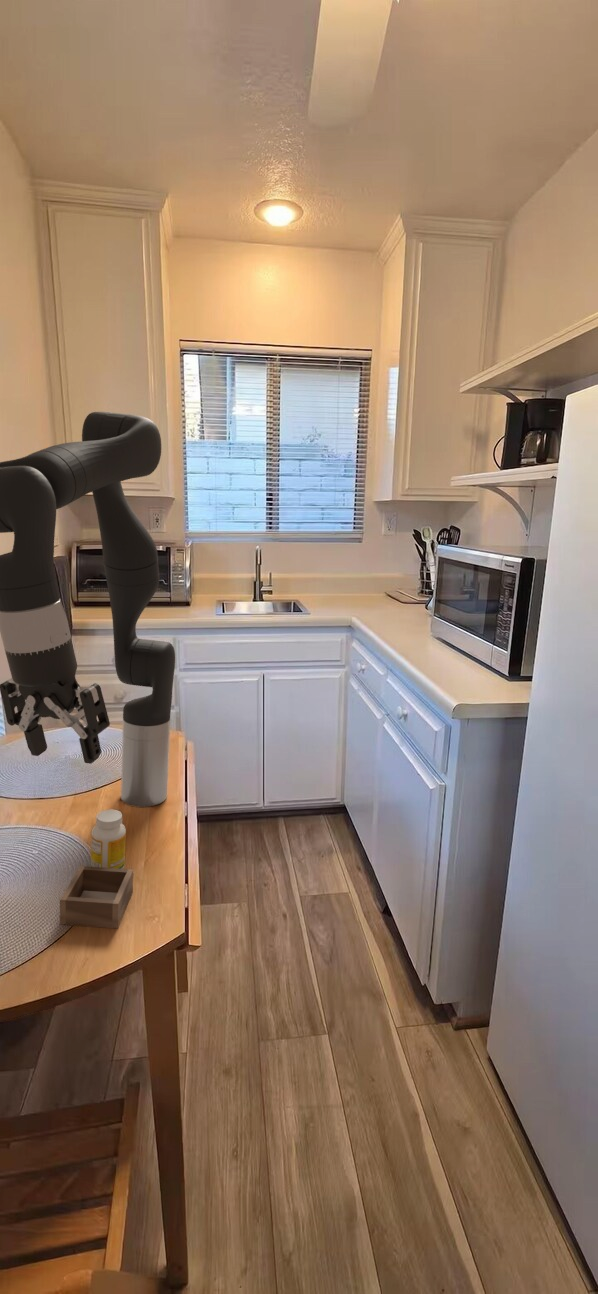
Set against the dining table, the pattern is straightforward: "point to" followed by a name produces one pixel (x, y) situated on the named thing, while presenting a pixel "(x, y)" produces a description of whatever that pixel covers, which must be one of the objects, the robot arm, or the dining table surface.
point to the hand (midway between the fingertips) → (65, 756)
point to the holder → (96, 897)
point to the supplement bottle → (108, 840)
